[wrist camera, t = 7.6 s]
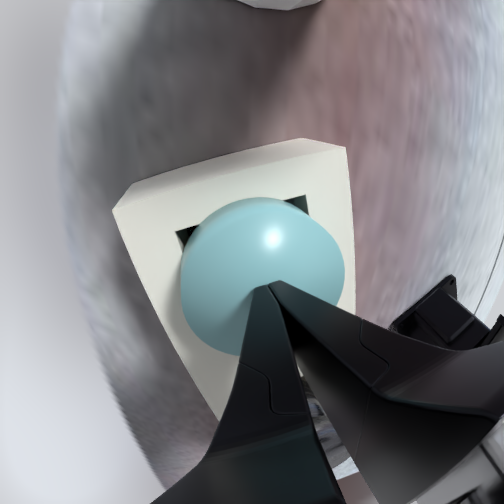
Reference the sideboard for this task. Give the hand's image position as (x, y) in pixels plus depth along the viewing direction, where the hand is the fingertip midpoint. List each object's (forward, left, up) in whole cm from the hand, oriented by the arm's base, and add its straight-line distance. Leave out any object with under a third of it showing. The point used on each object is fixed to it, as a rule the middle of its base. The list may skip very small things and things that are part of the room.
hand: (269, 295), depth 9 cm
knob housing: (-8, +3, -6) cm, 11 cm away
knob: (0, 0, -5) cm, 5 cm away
